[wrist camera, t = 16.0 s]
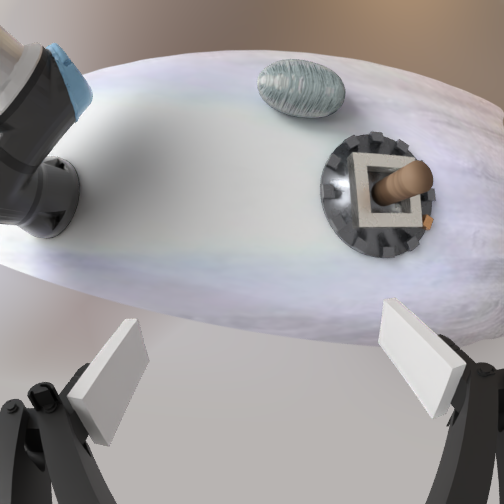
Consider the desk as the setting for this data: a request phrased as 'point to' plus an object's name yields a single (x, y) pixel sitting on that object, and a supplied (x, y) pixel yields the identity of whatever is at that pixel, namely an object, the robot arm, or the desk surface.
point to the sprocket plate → (362, 204)
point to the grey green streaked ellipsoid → (301, 88)
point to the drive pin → (403, 184)
